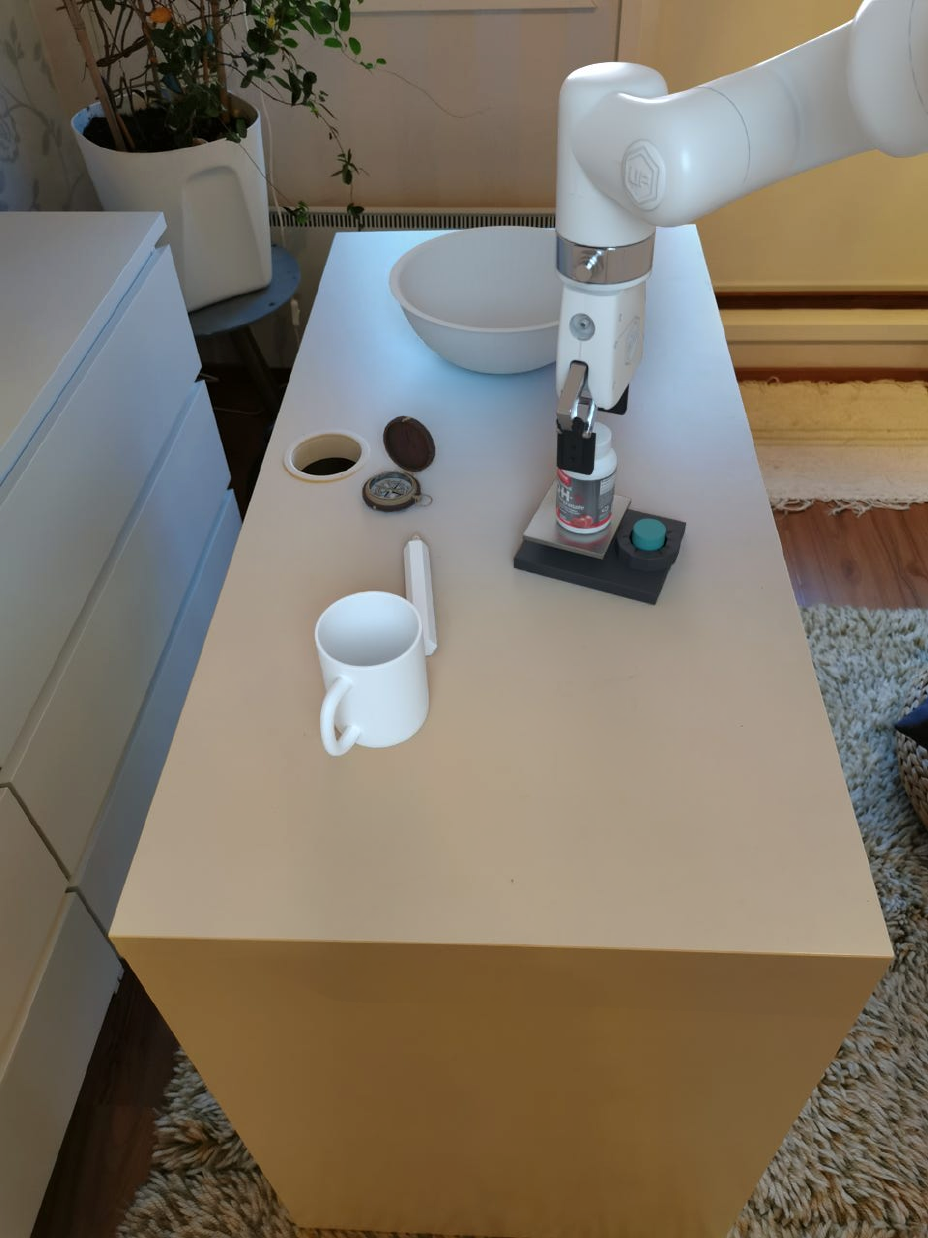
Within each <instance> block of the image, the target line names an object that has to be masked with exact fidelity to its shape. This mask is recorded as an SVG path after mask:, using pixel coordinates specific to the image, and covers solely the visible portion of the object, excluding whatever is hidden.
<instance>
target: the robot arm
mask: <svg viewBox="0 0 928 1238" xmlns="http://www.w3.org/2000/svg"><path fill="white" fill-rule="evenodd" d="M557 102H558V104H557V136H556V137H557V138H556V140H557V141H556V179H555V180H556V181H555V183H556V184H555V227H554V231H555V262H554V272H555V274H556V276H557V277H558V278H559V279H560V280H561V281H562V282H563V290H562V298H561V307H560V318H559V329H558V342H557V359H556V361H555V389H556V397H558V401H557V404H556V408H555V415H556V420H555V425H556V430H555V431H556V462H555V463H556V467H557V469H558V468H559V469H561V470H566V471H570V472H575V473H580V474H585V475H591V474H592V472H593V471H594V462H595V446H596V433H593V432H592V430H593V426H594V422H595V421H596V417H597V413H598V412H601V413H602V412H603V413H607V414H614V415H619V416H623V415H625V414H626V413H627V411H628V403H629V402H628V401H629V391H630V382H631V380H632V378H633V376H634V375H635V373H636V371H637V370H638V367H639V365H640V363H641V360H642V358H643V353H644V338H645V337H644V336H645V318H646V299H647V298H646V297H647V280H648V279H649V278H650V277H651V275H652V273H653V265H654V255H655V244H656V233H657V227H659V228H667V229H668V228H678V227H682V226H685V225H688V224H690V223H692V222H695V221H697V220H699V219H702V218H703V217H705V216H708V215H710V214H713V213H714V212H716V211H718V210H720V209H723V208H725V207H726V206H727V205H729V204H732V203H734V202H736V201H739V200H740V199H742V198H745V197H747V196H749V195H751V194H753V193H756V192H758V191H760V190H763V189H765V188H767V187H770V186H772V185H774V184H777V183H779V182H781V181H784V180H786V179H789V178H791V177H795V176H797V175H800V174H803V173H806V172H808V171H811V170H814V169H817V168H820V167H823V166H827V165H830V164H832V163H834V162H837V161H840V160H843V159H846V158H850V157H853V156H856V155H860V154H863V153H866V152H870V151H873V150H878V151H879V152H881V153H883V154H884V155H887V156H888V157H892V158H897V159H906V158H907V159H908V158H912V157H917V156H919V155H920V156H921V155H923V154H926V153H928V0H862V2H861V4H860V6H859V7H858V9H857V10H856V13H855V15H854V17H853V18H852V19H851V20H849V21H847V22H845V23H843V24H841V25H840V26H837V27H835V28H833V29H832V30H829V31H827V32H825V33H823V34H821V35H819V36H817V37H814V38H813V39H810V40H808V41H806V42H804V43H802V44H799V45H798V46H795V47H793V48H791V49H789V50H787V51H784V52H782V53H780V54H778V55H774V56H773V57H771V58H769V59H766V60H763V61H761V62H759V63H757V64H754V65H752V66H749V67H747V68H744V69H742V70H739V71H736V72H734V73H730V74H727V75H723V76H721V77H718V78H715V79H713V80H711V81H708V82H705V83H702V84H700V85H697V86H694V87H692V88H689V89H686V90H682V91H678V92H674V93H671V94H669V89H668V84H667V82H666V80H665V77H664V76H663V75H662V74H661V73H660V72H659V71H657V70H656V69H654V68H653V67H650V66H646V65H644V64H640V63H635V62H628V61H627V62H626V61H609V62H599V63H598V62H597V63H593V64H589V65H585V66H583V67H580V68H578V69H576V70H574V71H572V72H571V73H570V74H568V75H567V77H566V78H565V79H564V81H563V82H562V85H561V87H560V90H559V93H558V101H557ZM583 391H587V392H589V393H590V395H591V397H586V396H582V394H583ZM578 406H581V407H586V408H587V411H586V415H585V419H584V420H583V419H582V417H580V416H578ZM584 421H585V422H584Z"/></svg>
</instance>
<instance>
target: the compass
mask: <svg viewBox="0 0 928 1238" xmlns="http://www.w3.org/2000/svg"><path fill="white" fill-rule="evenodd" d="M382 443H383V445H384V449H385V452H386V453H387V455H388V457H389V458H390V459H391V461H392V462H393V463H394V464H395V465H396V466H398V467H399V468H400V469H402V470H401V471H398V470H387V471H383V472H380V473H377V474H376V475H373V476H372V477H369V479H367V481H366V482H365V483H364V484H363V486H362V491H361V494H362V499H363V501H364V503H365V504H366V505H367V506H368V507H369V508H371V509H374V510H375V511H380V512H383V513H394V512H400V511H404V510H406V509H408V508H410V507H411V506H413V505H415V504H416V505H417V506H419V507H428V506H430V505H431V504H432V503H433V502H434V501H433V498H432V496H431V495H429V494H422V493H421V489H422V488H421V483H420V482H419V480H418V479H417V478H416V477H415V476H414V473H421V472H422V471H425V470H426V469H428V468H429V467H430V466H431V465H432V463H433V462H434V460H435V457H436V444H435V440H434V438H433V436H432V434H431V433H430V431H429V430H428V428H427V427H426V426H425V425H424V424H423V423H422V422H421V421H419V420H418V419H416V418H414V417H412V416H410V415H409V416H408V415H399V416H396V417H395V418H393V419H391V420H390V421H389V422H387V424H386V425H385V426H384V429H383V432H382ZM422 497H428V498H429V499H430V501H429V503H427V504H420V503H418V502H421V501H422Z"/></svg>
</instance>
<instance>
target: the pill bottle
mask: <svg viewBox="0 0 928 1238" xmlns="http://www.w3.org/2000/svg"><path fill="white" fill-rule="evenodd" d="M583 421H584V422H585V420H583ZM592 432H593V433H596V446H595V462H594V471H593V472H592V474H591V475H585V474H580V473H575V472H570V471H566V470H561V469H559V468H558V467H557V475H556V481H557V495H556V518H557V521H558V522H559V524H560V525H561V526H562V527H564V528H565V529H567V530H569V531H572V532H575V533H583V534H588V533H595V532H598V531H600V530H602V529H604V528H605V527H606V526H607V525H608V524H609V522H610V520H611V516H612V509H613V499H614V494H615V490H616V489H615V488H616V479H617V469H618V456H617V452H616V451H615V450H614V448H613V447H612V441H613V440H612V439H613V434H612V433H613V432H612V430H611V428H610V427H609V426H608V425H606V424H604V423H602V422H600V421H596V420H595V422H594V426H593V430H592Z"/></svg>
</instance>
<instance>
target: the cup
mask: <svg viewBox="0 0 928 1238" xmlns="http://www.w3.org/2000/svg"><path fill="white" fill-rule="evenodd" d="M314 642H315V646H316V651H317V656H318V661H319V665H320V670H321V674H322V675H321V676H322V679H323V684H324V689H325V695H324V698H323V699H322V702H321V706H320V713H319V733H320V738H321V743H322V746H323V749H325V751H326V753H327V754H329V756H332V757H340V756H342V755H345V754H347V752H349V751H350V750H351V748H352V747H353V746H354V745H355V744H356V745H359V746H361V747H365V748H371V749H383V748H390V747H393V746H396V745H399V744H402V743H403V742H406V741H407V740H409V739H411V737H413V736H414V735H415V734H416V733H417V732H418V731H419V730H420V729H421V728H422V727H423V725H424V724H425V722H426V720H427V717H428V714H429V709H430V693H429V692H430V690H429V683H428V682H429V680H428V679H429V678H428V670H427V669H428V668H427V658H426V656H425V647H424V636H423V625H422V619H421V616H420V614H419V612H418V611H417V609H416V608H415V607H414V606H413V605H412V604H411V603H410V602H409V601H407V599H406V598H404V597H402V596H400V595H398V594H395V593H391V592H388V591H380V590H366V591H359V592H356V593H355V592H354V593H352V594H349V595H347V596H343V597H342V598H340V599H338V600H336V601H334V602H333V603H332V604H330V605H329V606H328V607H327V608H325V610H324V611H323V612H322V613H321V615H320V616H319V618H318V620H317V622H316V624H315V627H314ZM335 728H336V729H335ZM335 730H337V731H338V732H339V733H340V734H341V735H340V736H339V738H336V733H335V732H336V731H335Z"/></svg>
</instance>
